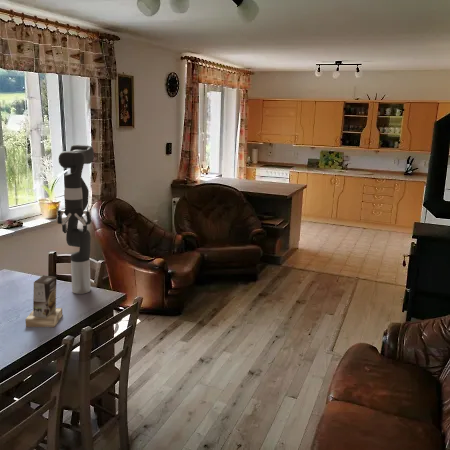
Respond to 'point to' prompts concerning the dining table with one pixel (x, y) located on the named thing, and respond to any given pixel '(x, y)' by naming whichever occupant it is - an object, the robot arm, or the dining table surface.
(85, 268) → the robot arm
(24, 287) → the dining table surface
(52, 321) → the birch block
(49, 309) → the coffee box
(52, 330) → the dining table surface
